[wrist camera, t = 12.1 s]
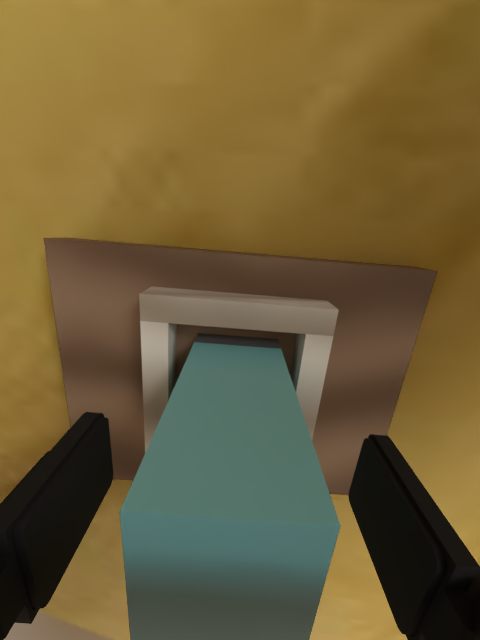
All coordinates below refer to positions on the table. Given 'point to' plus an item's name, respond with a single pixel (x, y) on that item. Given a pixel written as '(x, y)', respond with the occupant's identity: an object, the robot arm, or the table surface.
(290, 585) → the plug
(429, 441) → the table surface
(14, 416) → the table surface
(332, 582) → the table surface
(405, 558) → the robot arm
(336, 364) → the socket block
